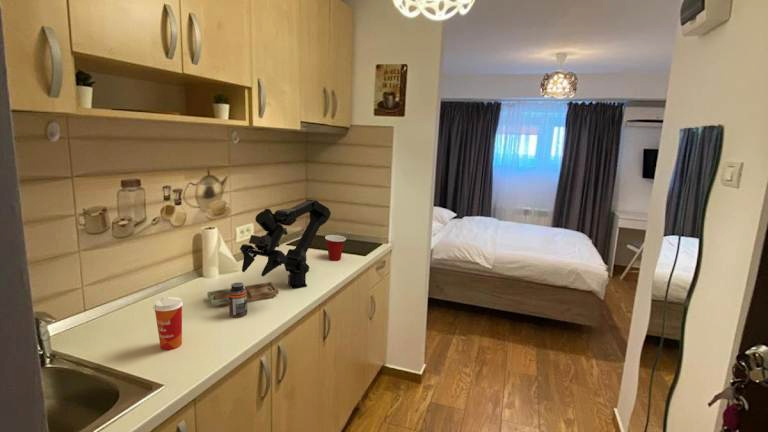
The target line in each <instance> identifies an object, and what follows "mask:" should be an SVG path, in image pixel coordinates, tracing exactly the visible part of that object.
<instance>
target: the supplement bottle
mask: <svg viewBox="0 0 768 432" xmlns="http://www.w3.org/2000/svg"><path fill="white" fill-rule="evenodd" d="M230 288H231V290H230V291H229V306H228V308H229V309H228V311H229V316H230V317H233V318H241V317H244V316H246V315H247V314H248V303H247V292H246V289H245V286H244V283H243V282H238V281H237V282H233V283H231V286H230Z"/></svg>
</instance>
